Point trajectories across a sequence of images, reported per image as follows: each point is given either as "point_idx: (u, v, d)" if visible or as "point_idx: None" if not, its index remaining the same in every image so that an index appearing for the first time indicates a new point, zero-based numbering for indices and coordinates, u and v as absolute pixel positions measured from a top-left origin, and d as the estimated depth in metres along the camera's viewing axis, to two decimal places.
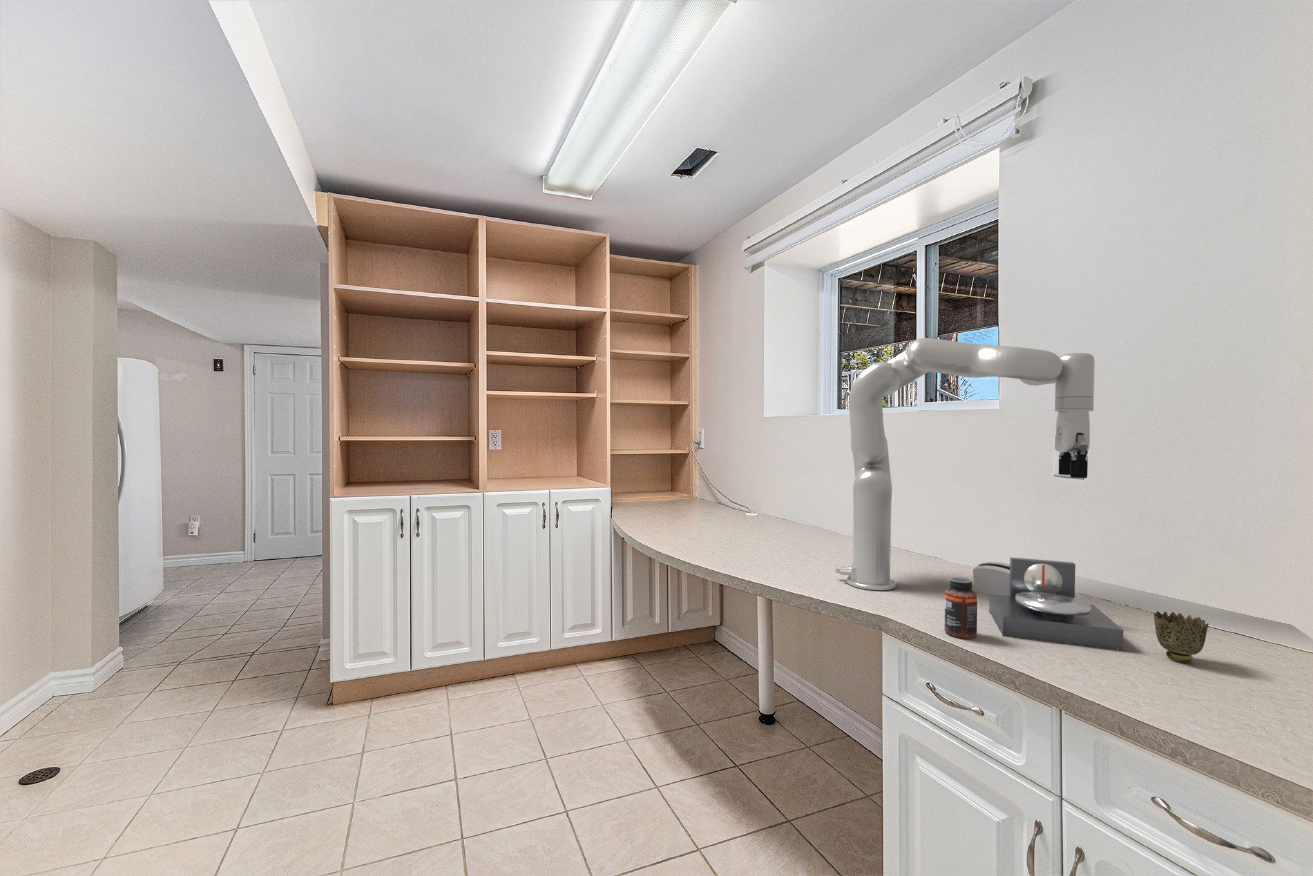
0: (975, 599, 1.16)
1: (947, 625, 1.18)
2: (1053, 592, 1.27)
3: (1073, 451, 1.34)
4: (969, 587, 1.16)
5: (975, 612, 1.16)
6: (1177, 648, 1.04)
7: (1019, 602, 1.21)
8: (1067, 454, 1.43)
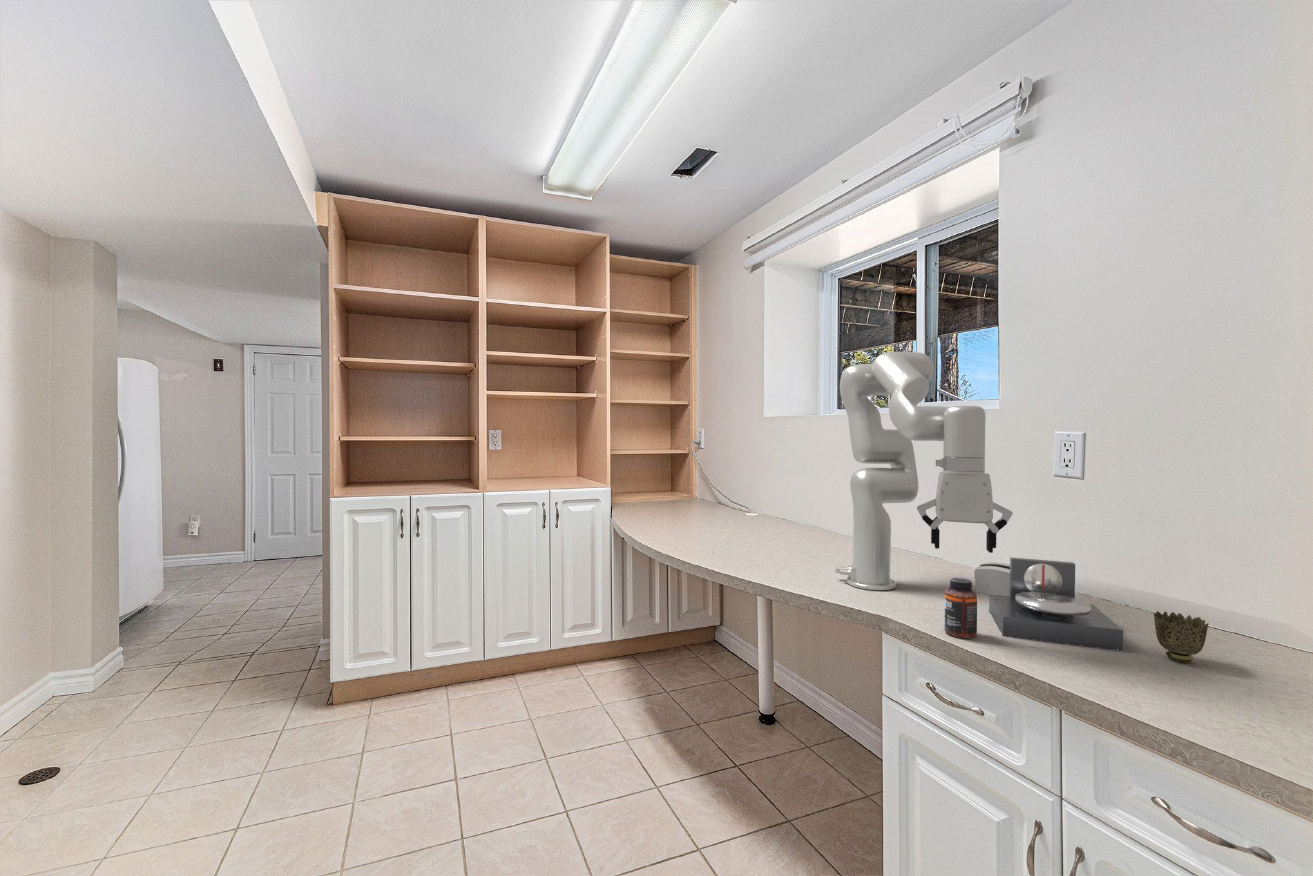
0: (975, 599, 1.16)
1: (947, 625, 1.18)
2: (1053, 592, 1.27)
3: (992, 522, 1.15)
4: (969, 587, 1.16)
5: (975, 612, 1.16)
6: (1177, 648, 1.04)
7: (1019, 602, 1.21)
8: None
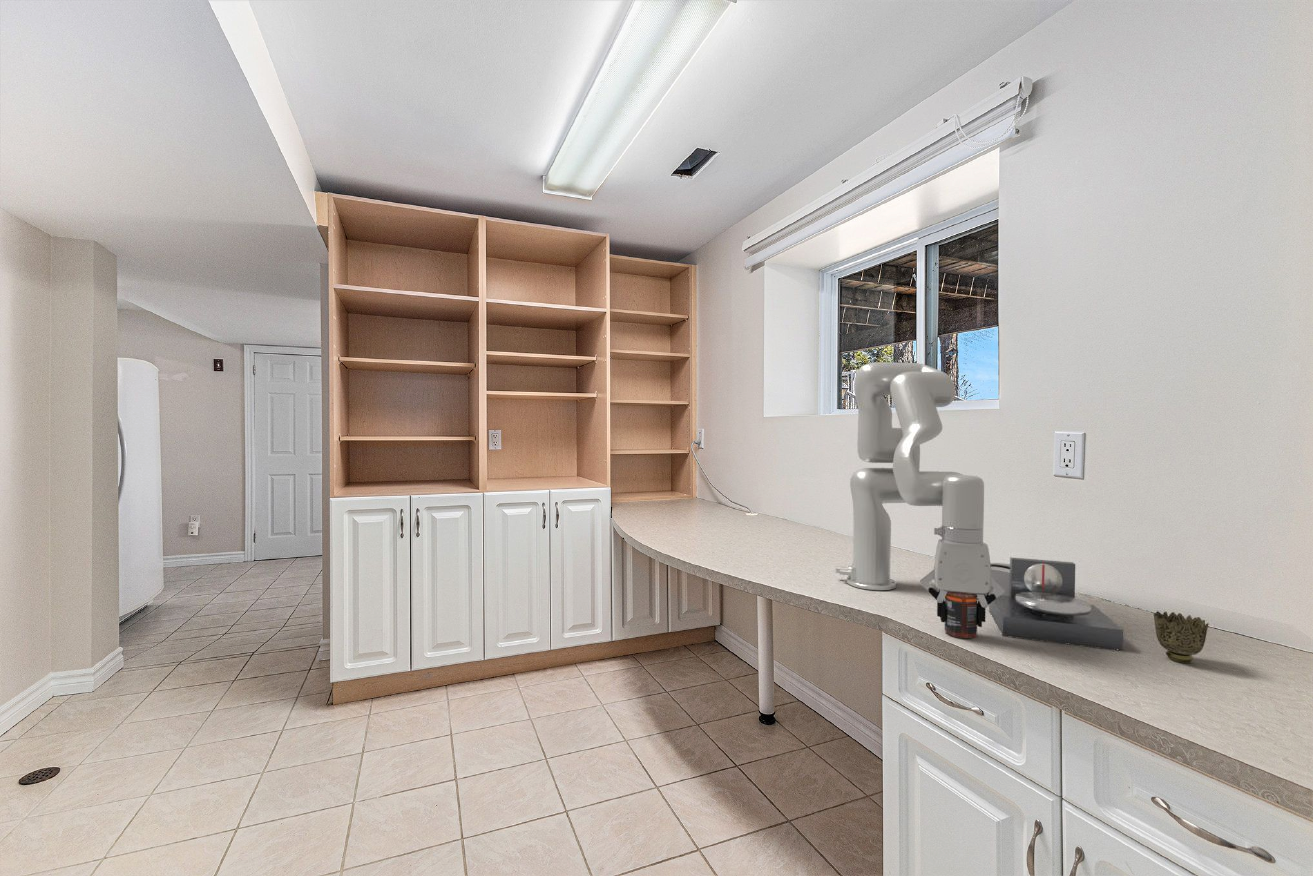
0: (975, 599, 1.16)
1: (947, 625, 1.18)
2: (1053, 592, 1.27)
3: (984, 596, 1.16)
4: None
5: (975, 612, 1.16)
6: (1177, 648, 1.04)
7: (1019, 602, 1.21)
8: None
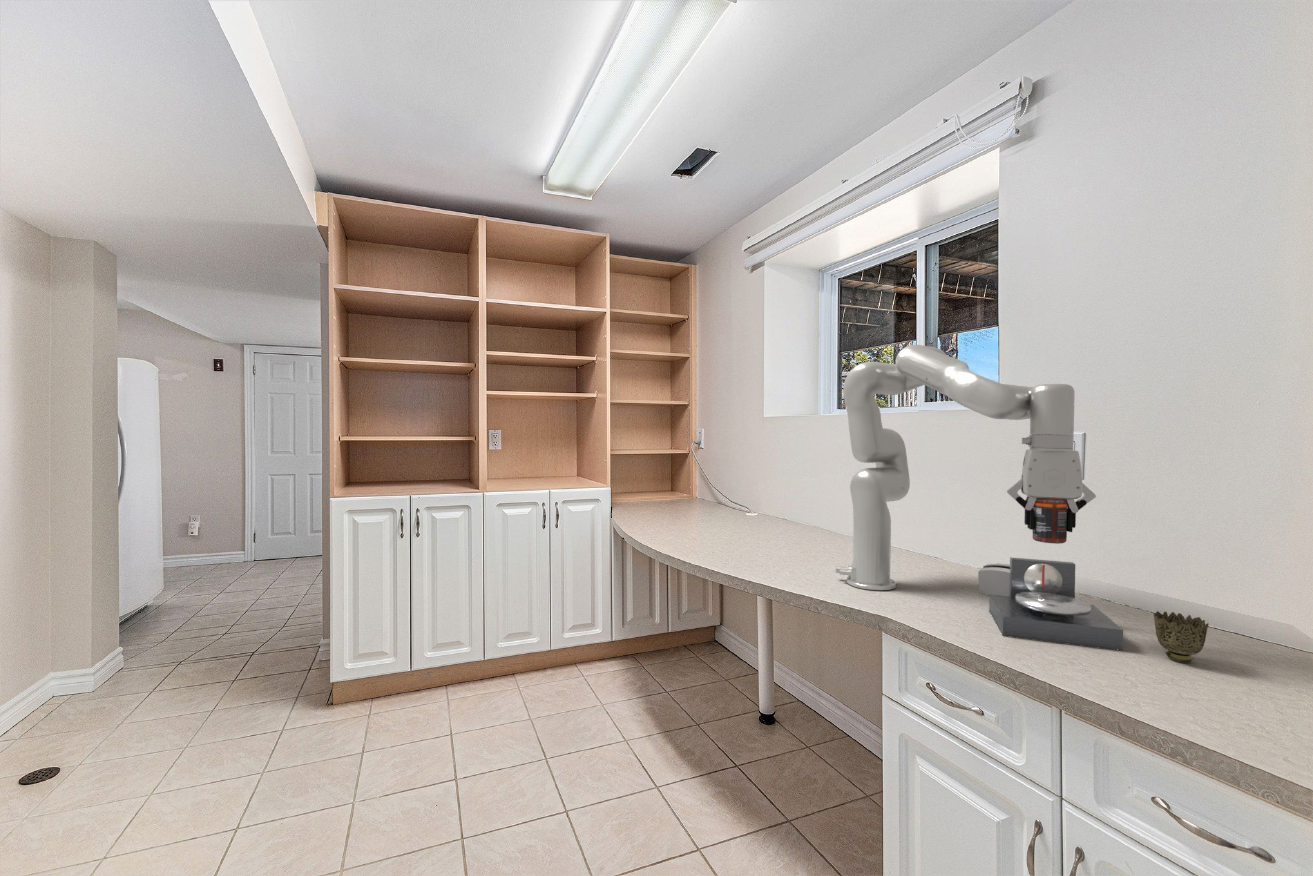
0: (1065, 505, 1.17)
1: (1036, 532, 1.19)
2: (1053, 592, 1.27)
3: (1074, 501, 1.17)
4: None
5: (1065, 517, 1.17)
6: (1177, 648, 1.04)
7: (1019, 602, 1.21)
8: None
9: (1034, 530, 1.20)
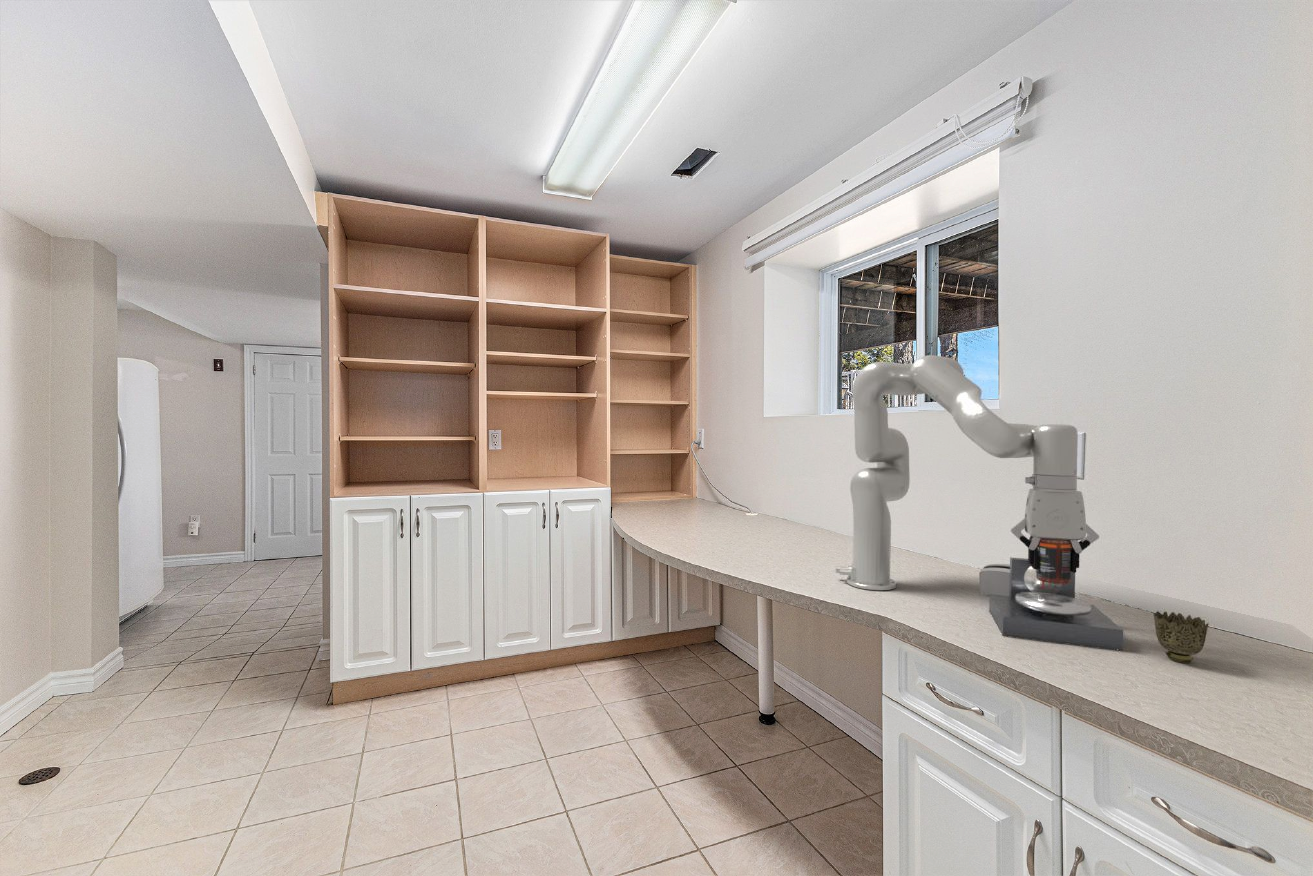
0: (1069, 545, 1.17)
1: (1040, 572, 1.20)
2: (1053, 592, 1.27)
3: (1078, 542, 1.17)
4: None
5: (1069, 558, 1.18)
6: (1177, 648, 1.04)
7: (1019, 602, 1.21)
8: None
9: (1038, 570, 1.20)
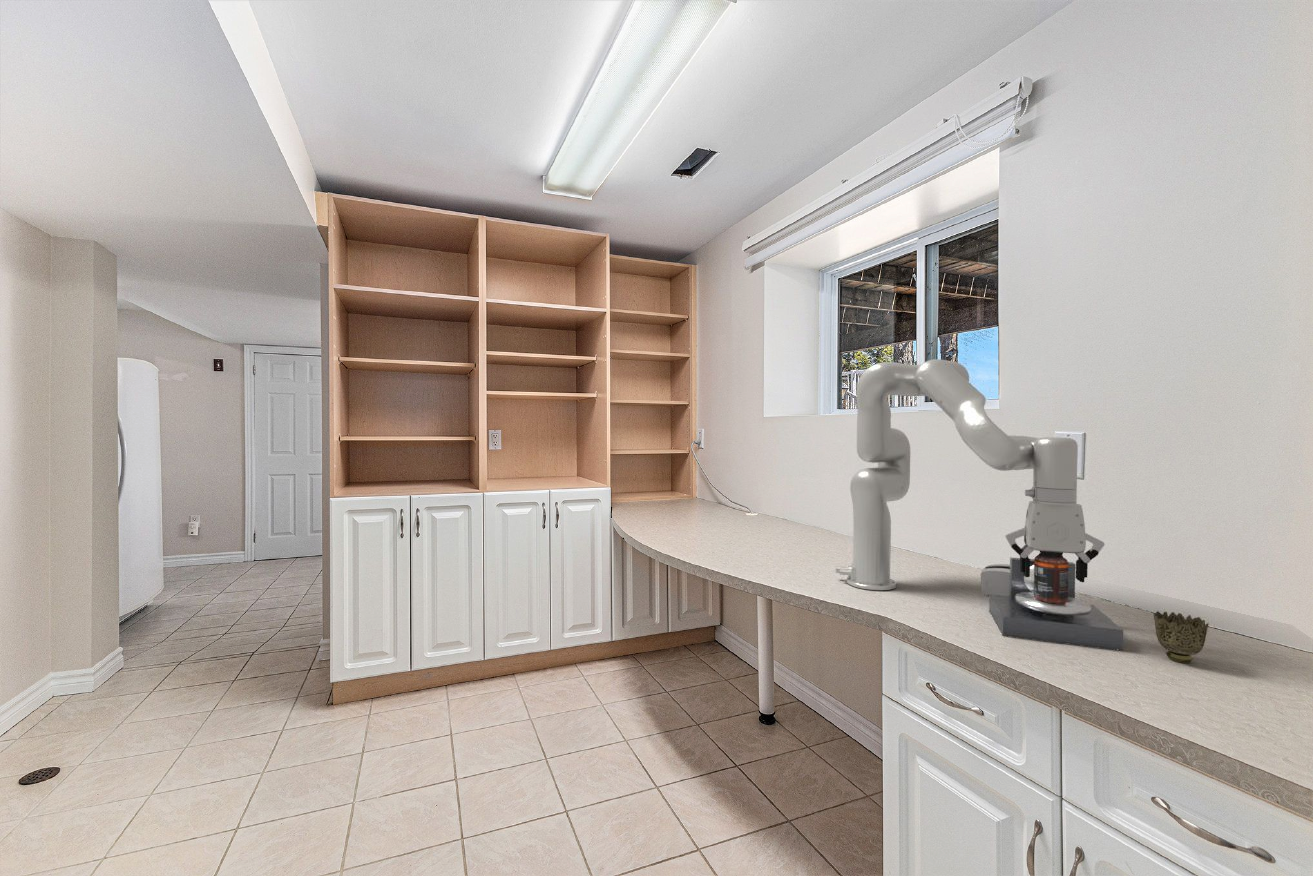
0: (1066, 565, 1.18)
1: (1038, 591, 1.20)
2: None
3: (1083, 552, 1.17)
4: (1060, 553, 1.19)
5: (1067, 578, 1.18)
6: (1177, 648, 1.04)
7: (1019, 602, 1.21)
8: None
9: (1036, 589, 1.21)
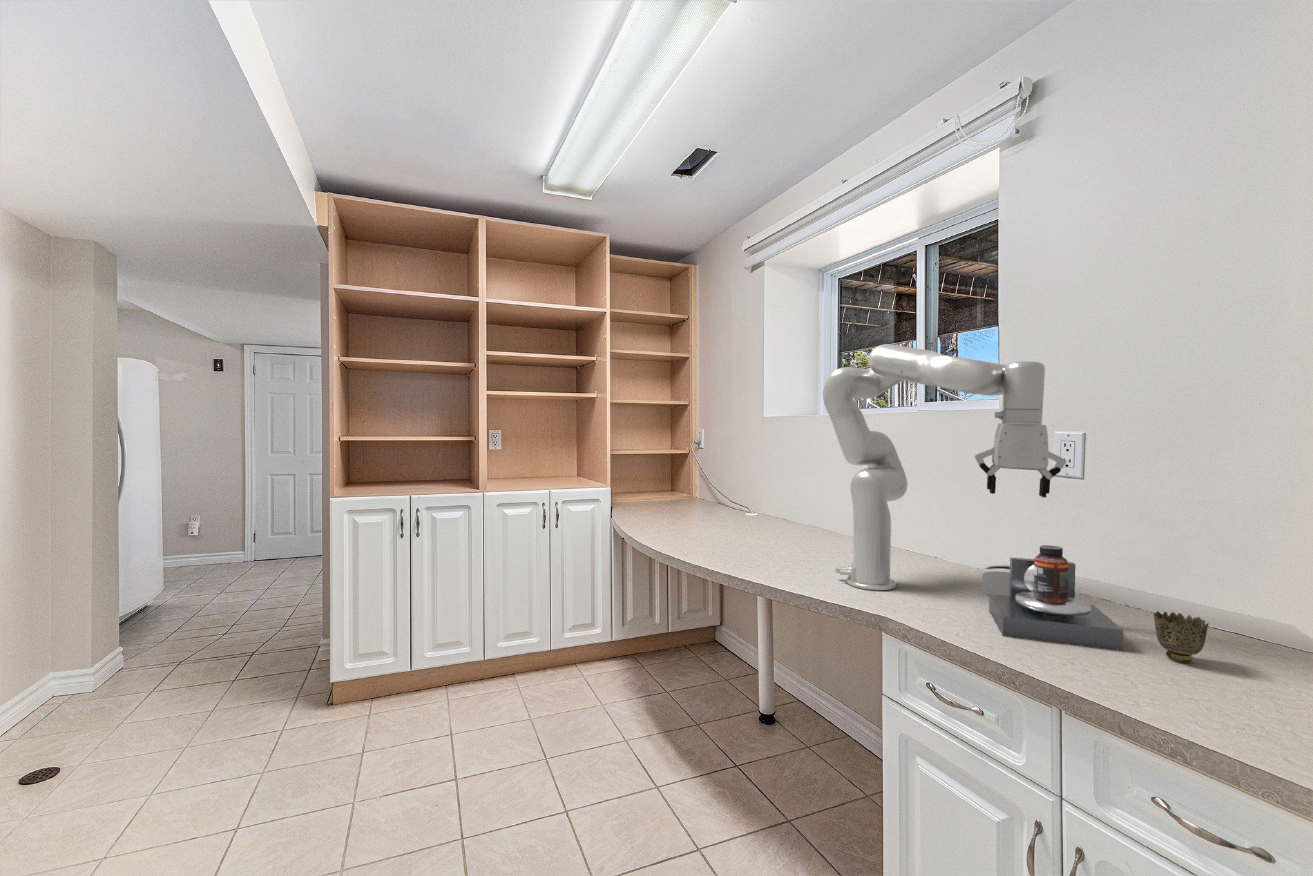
0: (1066, 565, 1.18)
1: (1038, 591, 1.20)
2: None
3: (1046, 469, 1.24)
4: (1060, 553, 1.18)
5: (1067, 578, 1.18)
6: (1177, 648, 1.04)
7: (1019, 602, 1.21)
8: None
9: (1036, 589, 1.21)
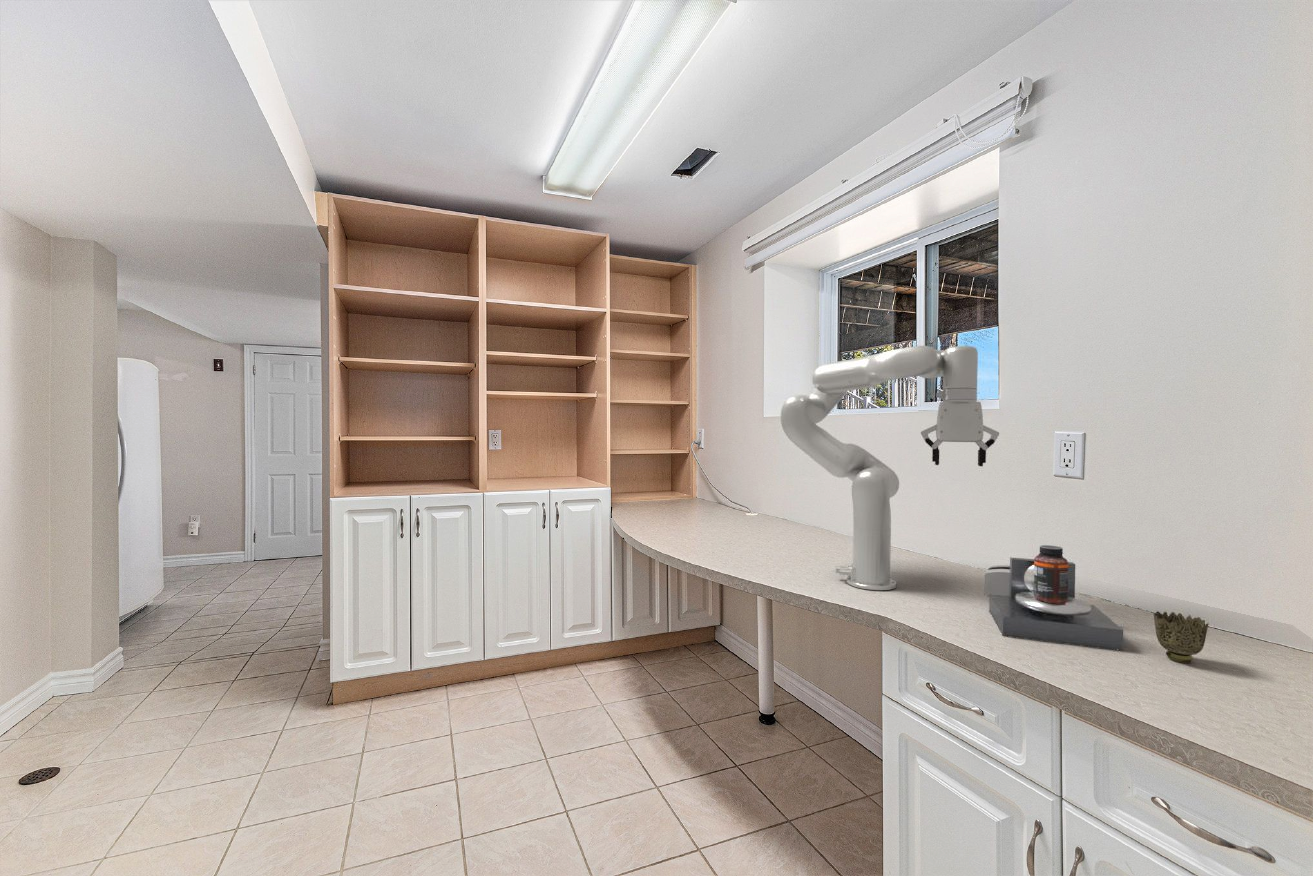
0: (1066, 565, 1.18)
1: (1038, 591, 1.20)
2: None
3: (982, 441, 1.40)
4: (1060, 553, 1.18)
5: (1067, 578, 1.18)
6: (1177, 648, 1.04)
7: (1019, 602, 1.21)
8: None
9: (1036, 589, 1.21)
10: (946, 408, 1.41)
